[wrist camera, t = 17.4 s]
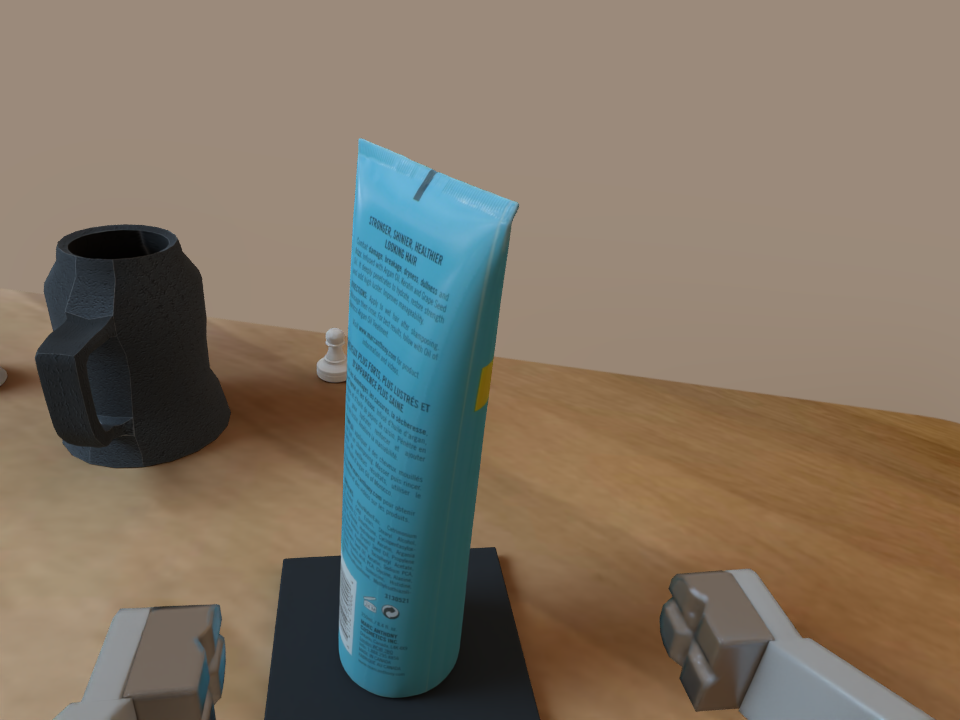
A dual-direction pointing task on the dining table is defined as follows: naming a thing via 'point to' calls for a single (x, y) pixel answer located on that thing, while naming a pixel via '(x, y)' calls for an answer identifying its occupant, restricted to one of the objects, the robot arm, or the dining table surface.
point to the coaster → (366, 716)
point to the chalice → (2, 376)
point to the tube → (414, 414)
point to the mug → (128, 349)
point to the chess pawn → (333, 358)
